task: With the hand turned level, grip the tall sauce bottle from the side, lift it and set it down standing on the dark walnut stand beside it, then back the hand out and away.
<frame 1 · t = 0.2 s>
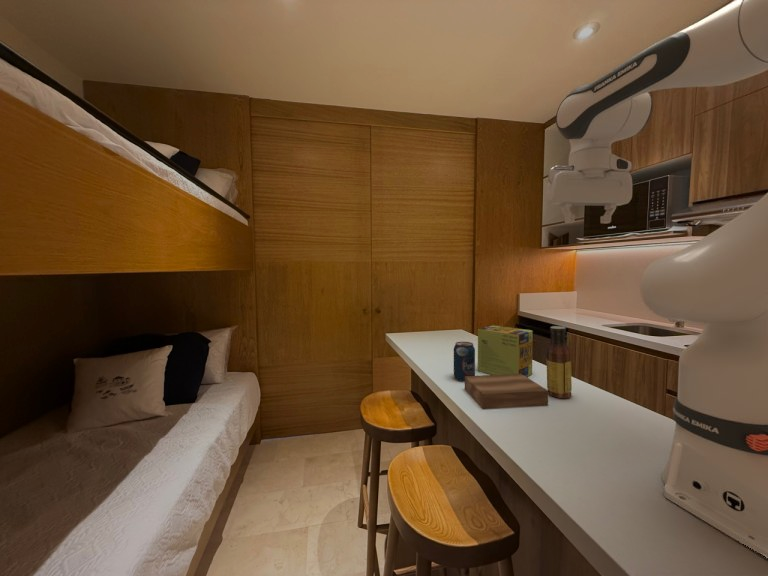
hand: (587, 222, 79), 48 cm above the countertop, tool pointing down, fingers open, 8 cm apart
soda can: (464, 379, 107), on the countertop
protein box: (504, 373, 112), on the countertop
sauce bottle: (558, 395, 92), on the countertop
walnut stand: (503, 396, 92), on the countertop
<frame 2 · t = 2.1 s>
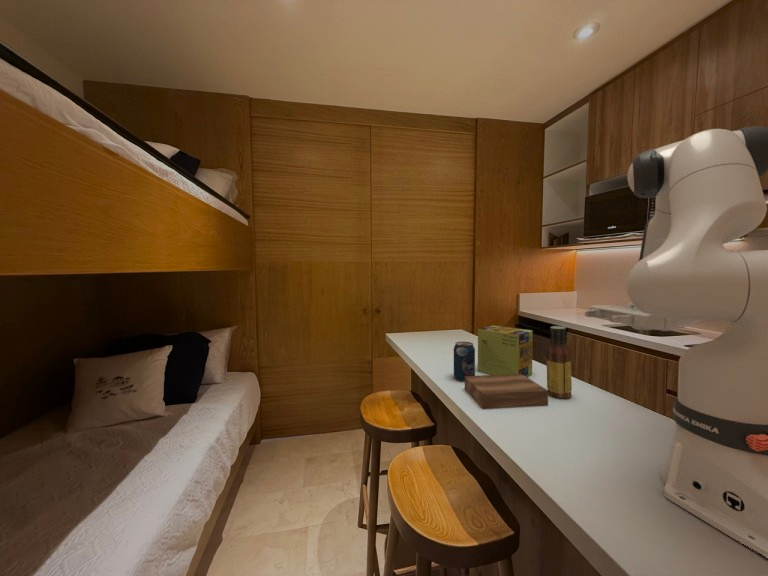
hand: (598, 316, 92), 23 cm above the countertop, tool horizontal, fingers open, 8 cm apart
nothing on the countertop moved.
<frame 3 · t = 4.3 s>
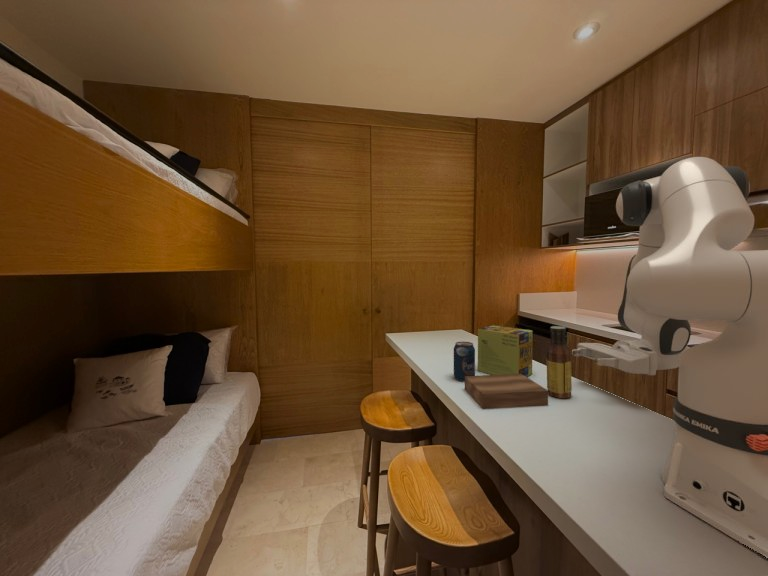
hand: (584, 357, 92), 11 cm above the countertop, tool horizontal, fingers open, 8 cm apart
nothing on the countertop moved.
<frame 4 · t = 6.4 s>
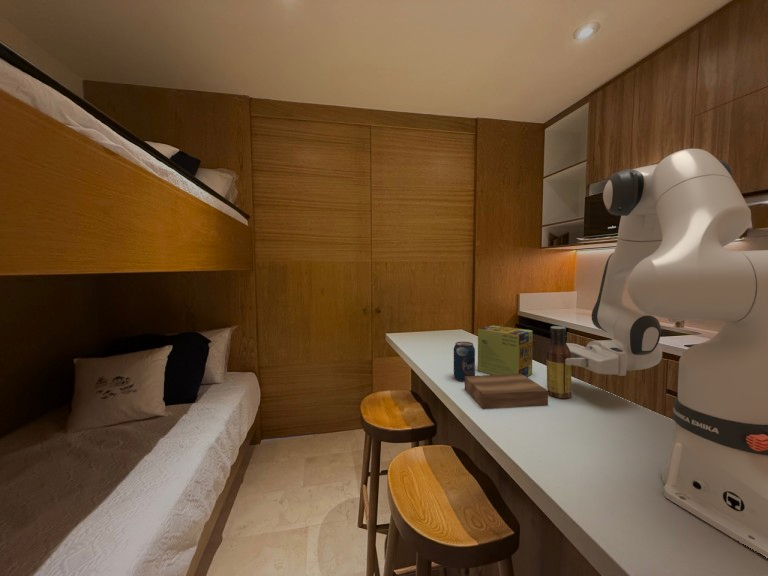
hand: (556, 357, 91), 11 cm above the countertop, tool horizontal, fingers closed on sauce bottle, 6 cm apart
sauce bottle: (558, 395, 92), on the countertop, touching gripper
everything else where it was.
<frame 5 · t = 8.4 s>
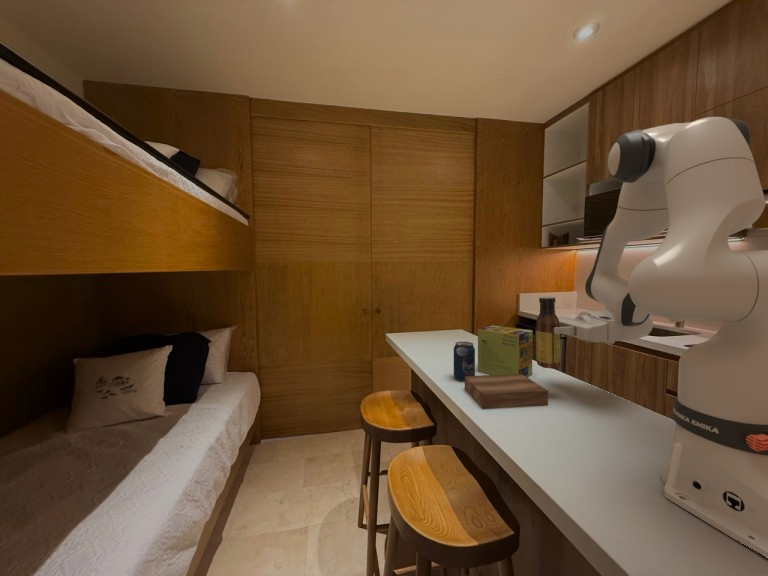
hand: (545, 327, 91), 20 cm above the countertop, tool horizontal, fingers closed on sauce bottle, 6 cm apart
sauce bottle: (547, 366, 92), point 8 cm above the countertop, touching gripper
everything else where it was.
when the fingers open (16 cm above the countertop, at t = 10.7 s): sauce bottle drops 1 cm, resting on walnut stand.
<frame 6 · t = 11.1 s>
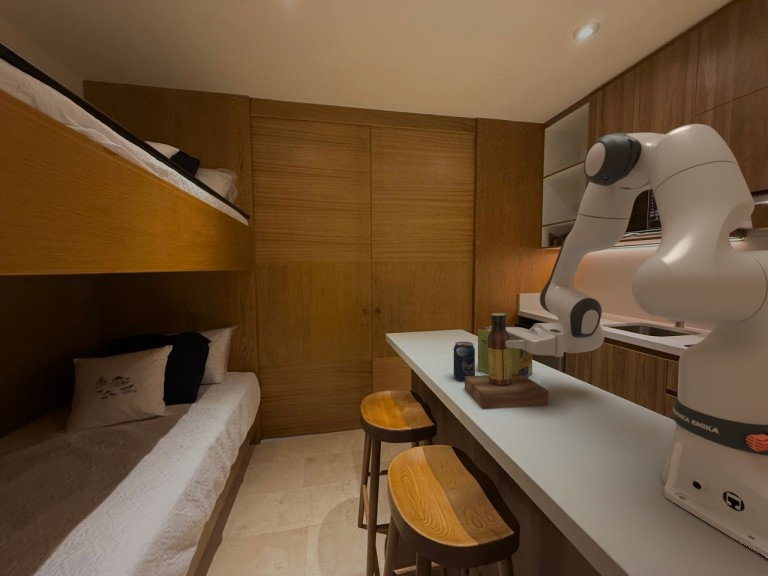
hand: (497, 340, 91), 16 cm above the countertop, tool horizontal, fingers open, 8 cm apart
sauce bottle: (499, 383, 92), point 4 cm above the countertop, touching walnut stand
everything else where it was.
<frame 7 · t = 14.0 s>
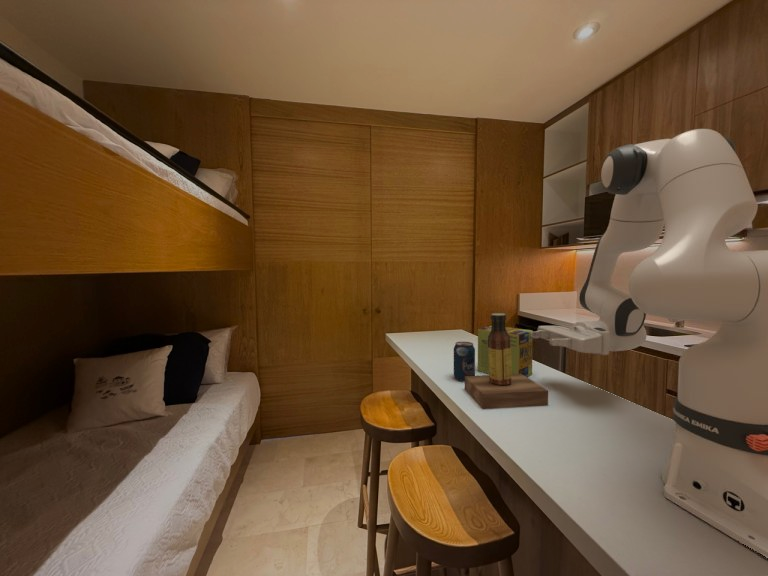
hand: (540, 338, 92), 17 cm above the countertop, tool horizontal, fingers open, 8 cm apart
nothing on the countertop moved.
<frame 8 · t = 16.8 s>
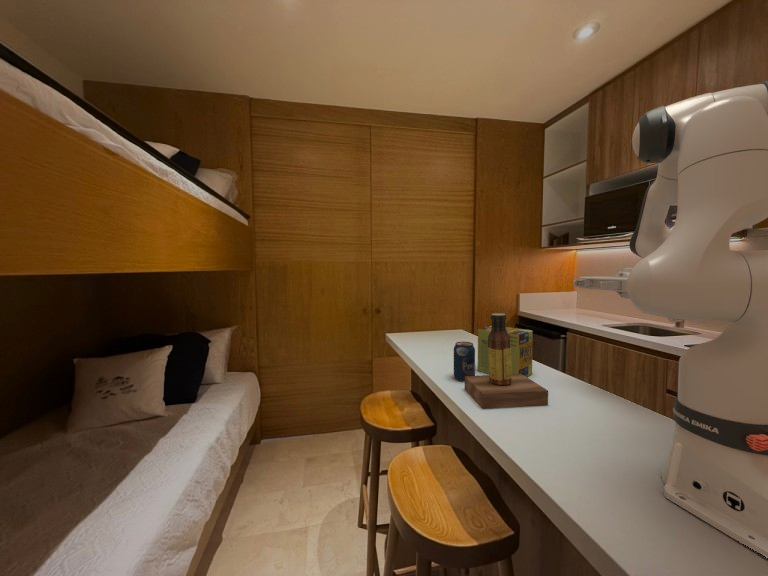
hand: (586, 284, 90), 32 cm above the countertop, tool horizontal, fingers open, 8 cm apart
nothing on the countertop moved.
at the end: sauce bottle inside the target area on the walnut stand (1.1 cm from its centre), point 3.8 cm above the walnut stand's base; sauce bottle tilted 0°; the gripper is holding nothing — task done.
